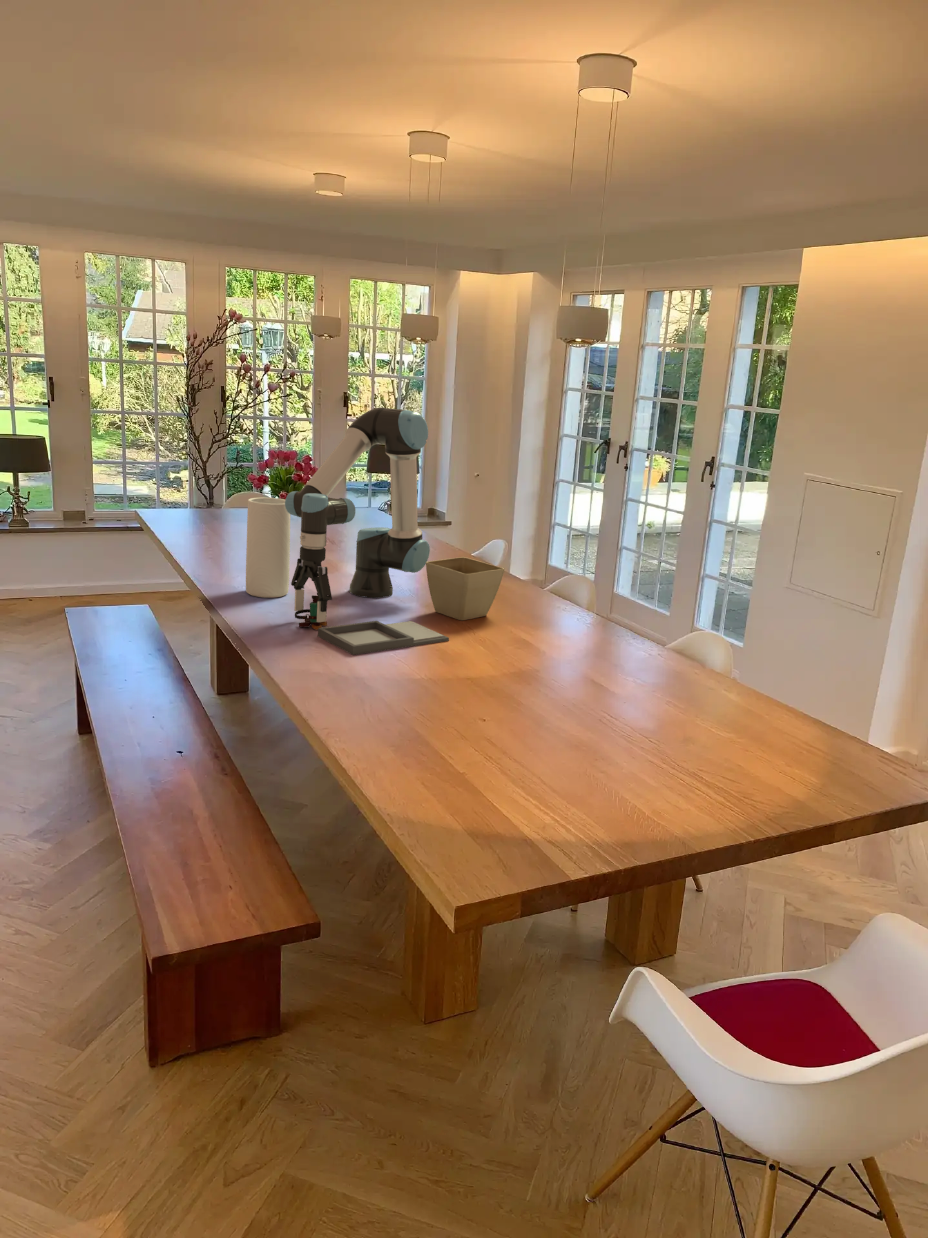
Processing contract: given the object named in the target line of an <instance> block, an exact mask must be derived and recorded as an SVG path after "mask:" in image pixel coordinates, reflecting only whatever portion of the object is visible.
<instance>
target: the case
mask: <svg viewBox="0 0 928 1238" xmlns="http://www.w3.org/2000/svg"><path fill="white" fill-rule="evenodd" d="M317 637H319V638H320V639H322V640H324V641H326V642H328V643H329V644H332V645H333V646H335V647H337V648H339V649H340V650H342V651H344V652H347V653H348V654H350V655H352V656H357V655H363V654H370V653H377V652H385V651H390V650H397V649H398V650H399V649H403V648H404V649H405V648H409V647H417V646H424V645H430V644H431V645H432V644H436V643H437V644H438V643H443V642H444V643H445V642H449V640H450V638H449V637H448V636H446V635H444V634H441V633H440V632H437V631H435V630H432V629H430V628H428V627H426V626H424V625H421V624H419V623H417V622H414V621H412V620H407V621H400V622H393V623H384V622H383V623H382V622H381V621H379V620H373V621H365V622H356V623H348V624H342V625H333V626H322V628H318V630H317Z"/></svg>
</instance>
